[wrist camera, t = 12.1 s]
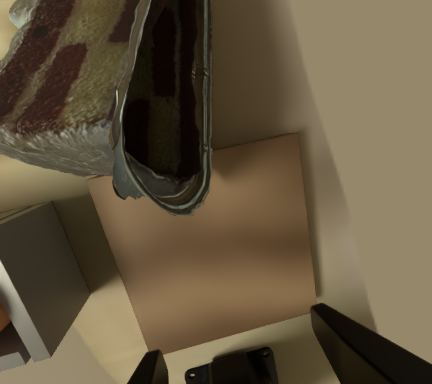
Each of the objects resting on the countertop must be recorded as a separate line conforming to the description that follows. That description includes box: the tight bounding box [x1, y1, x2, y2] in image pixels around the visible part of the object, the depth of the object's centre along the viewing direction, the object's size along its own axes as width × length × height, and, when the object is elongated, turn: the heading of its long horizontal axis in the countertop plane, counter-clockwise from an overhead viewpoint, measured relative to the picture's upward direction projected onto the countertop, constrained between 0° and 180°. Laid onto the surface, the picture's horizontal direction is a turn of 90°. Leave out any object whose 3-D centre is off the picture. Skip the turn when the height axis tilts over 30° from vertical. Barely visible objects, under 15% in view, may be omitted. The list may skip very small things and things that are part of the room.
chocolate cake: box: [0, 0, 213, 217], centre depth 9 cm, size 10×7×12 cm
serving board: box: [86, 133, 317, 355], centre depth 13 cm, size 12×11×1 cm
